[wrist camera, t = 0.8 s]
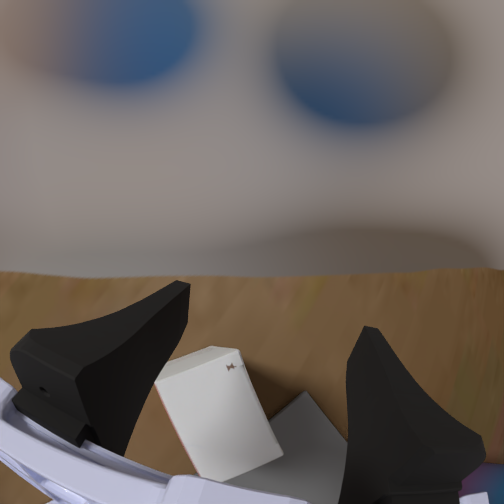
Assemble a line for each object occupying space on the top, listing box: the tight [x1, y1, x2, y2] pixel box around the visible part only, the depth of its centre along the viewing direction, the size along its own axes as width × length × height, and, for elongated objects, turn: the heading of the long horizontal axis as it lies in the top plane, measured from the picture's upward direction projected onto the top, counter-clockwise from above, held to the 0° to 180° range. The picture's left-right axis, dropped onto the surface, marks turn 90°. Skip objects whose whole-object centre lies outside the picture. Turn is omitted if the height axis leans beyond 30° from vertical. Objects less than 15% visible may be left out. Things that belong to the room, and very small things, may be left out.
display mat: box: [194, 391, 348, 504], centre depth 25 cm, size 16×18×1 cm
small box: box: [154, 346, 284, 482], centre depth 22 cm, size 8×6×10 cm
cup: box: [458, 463, 504, 504], centre depth 23 cm, size 7×7×15 cm
